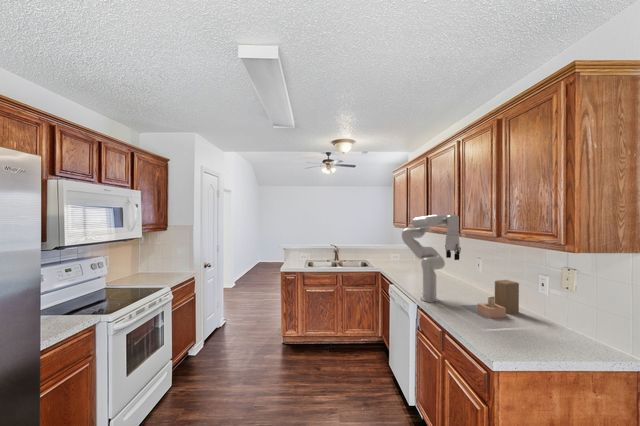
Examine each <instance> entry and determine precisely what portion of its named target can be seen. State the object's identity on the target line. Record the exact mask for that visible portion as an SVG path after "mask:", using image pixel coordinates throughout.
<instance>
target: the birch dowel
mask: <svg viewBox="0 0 640 426" xmlns="http://www.w3.org/2000/svg"><path fill="white" fill-rule="evenodd" d="M487 303H488V307H490V308H491V307H495V304H494V303H495V296H493V295H488V296H487Z"/></svg>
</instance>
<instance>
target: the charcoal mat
mask: <svg viewBox="0 0 640 426" xmlns="http://www.w3.org/2000/svg"><path fill="white" fill-rule="evenodd" d="M459 306H460V307H462V308H464V309H466V310H467V311H468V312H471V313H473V314H476V315H477V316H479V317H482V318H483V319H485V320H488V319H491V318H488V317H486V316H484V315H482V314H480V313H478V304H465V305H464V304H463V305H459ZM504 318H505V319H507V318H510V316H509V315H508V314H506V317H501V318H500V319H504Z"/></svg>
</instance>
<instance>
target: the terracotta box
mask: <svg viewBox="0 0 640 426" xmlns="http://www.w3.org/2000/svg"><path fill="white" fill-rule="evenodd" d="M494 304H495V302H494ZM477 305H478V313H480V314H482V315H484V316H486V317H488V318H490V319H502V318H501V317H506V315H507V314H506V308H504V307H502V306H500V305H497V304H495V307H491V308H490V307H488V302H484V303H483V302H482V303H477Z"/></svg>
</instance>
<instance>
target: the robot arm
mask: <svg viewBox="0 0 640 426" xmlns="http://www.w3.org/2000/svg"><path fill="white" fill-rule="evenodd" d="M459 219H460V216H459V215H457V214H431V215H430V214H429V215H424V216H417V217H414V218H413V219H412V220H411V225H412V227H408V228H404V229H403V230H402V231H401V238H402V241H403V243H404V244H405V245H406V246H407V248H409V250H411V252H412V253H413V254H414V255H415V257H416V258H417V259H419V260H421V263H420V264H421V270H422V292H421V295H422V296H421V297H420V300H421V301H422V302H425V301H426V302H427V303H437V302H438V301H439V298H438V297H437V273H436V272H435V271H436V270H441V269H444V267H445V266H446V265H445V264H446V263H445V259H444V258H443V257H442V255H441V254H440V253H439V252H438V251H437V250H436V249H435V248H434V247H431V246H424V245H422V244H421V243H420V242H419V241H418V240H417V239H421V238H422V237H424V236H425V235H426V234H425V233H426V232H427V231H428V230H429V228H432V227H434V226H438V227H439V226H446V236H445V245H444V247H445V248H444V249H445V258H448V259H451V258H452V251H453V252H454V255H453V256H454V257H453V258H454V261H460V254H461V251H462V247H461V246H460V237H459V236H460V220H459ZM426 302H425V303H426Z"/></svg>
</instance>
